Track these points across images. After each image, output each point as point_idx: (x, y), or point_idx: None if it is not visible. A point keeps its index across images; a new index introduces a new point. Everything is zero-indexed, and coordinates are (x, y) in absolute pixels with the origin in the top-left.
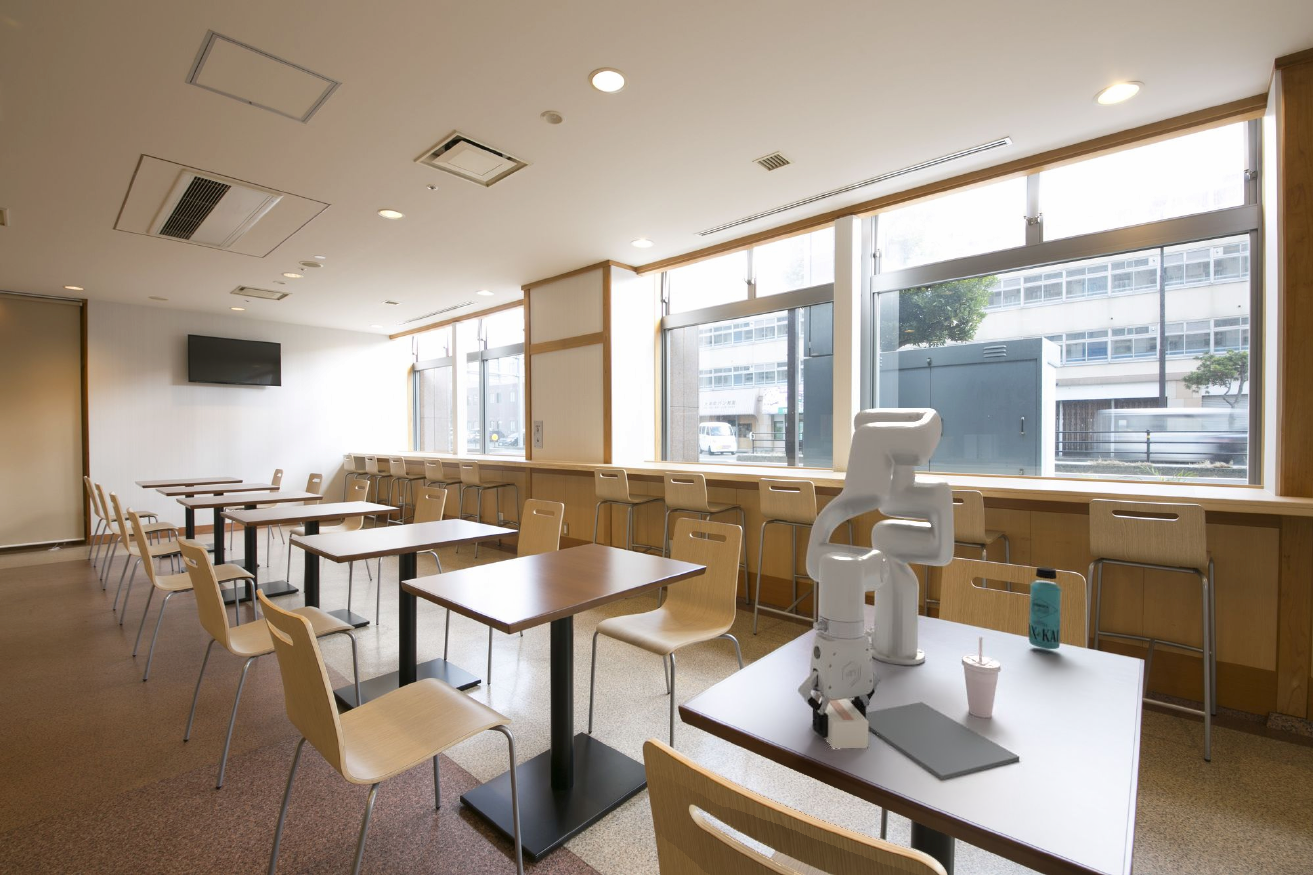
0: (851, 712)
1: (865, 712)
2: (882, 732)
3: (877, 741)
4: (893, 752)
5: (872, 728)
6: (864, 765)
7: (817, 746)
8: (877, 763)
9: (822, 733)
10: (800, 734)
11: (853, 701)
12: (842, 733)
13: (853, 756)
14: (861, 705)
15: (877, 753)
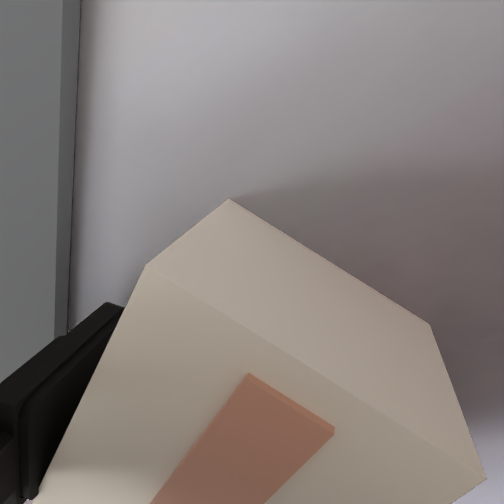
0: (149, 438)
1: (29, 369)
2: (36, 230)
3: (117, 208)
4: (129, 66)
5: (55, 288)
6: (458, 70)
7: (472, 392)
8: (348, 30)
9: None
10: None
11: (17, 493)
12: (383, 348)
13: (401, 195)
14: (3, 433)
15: (230, 121)
